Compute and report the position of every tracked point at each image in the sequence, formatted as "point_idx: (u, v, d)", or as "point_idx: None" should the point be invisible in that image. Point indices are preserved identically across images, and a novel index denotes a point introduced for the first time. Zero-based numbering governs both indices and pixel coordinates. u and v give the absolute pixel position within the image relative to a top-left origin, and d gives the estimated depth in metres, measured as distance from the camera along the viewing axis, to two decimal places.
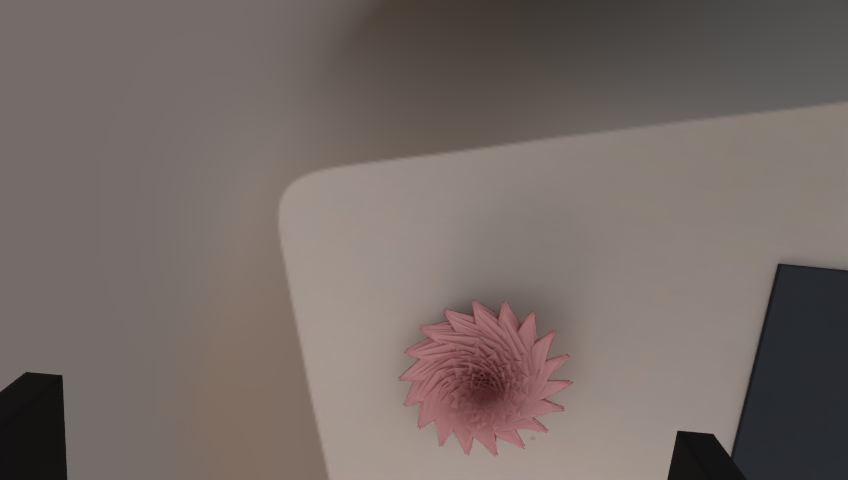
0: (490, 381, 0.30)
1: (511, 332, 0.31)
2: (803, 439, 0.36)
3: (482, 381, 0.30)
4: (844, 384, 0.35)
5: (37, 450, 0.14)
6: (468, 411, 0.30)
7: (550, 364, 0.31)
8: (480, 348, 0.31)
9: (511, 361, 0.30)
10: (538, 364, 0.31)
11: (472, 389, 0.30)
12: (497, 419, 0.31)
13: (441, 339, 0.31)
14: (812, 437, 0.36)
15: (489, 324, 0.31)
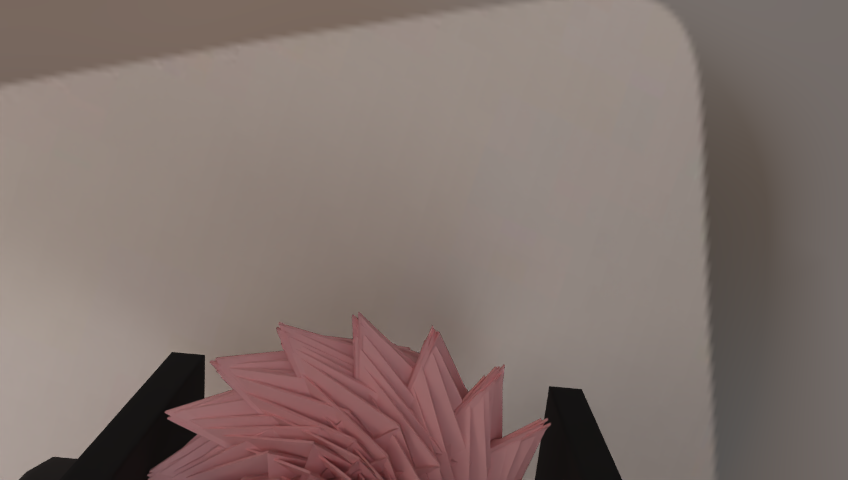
0: None
1: None
2: None
3: None
4: None
5: None
6: None
7: None
8: None
9: None
10: None
11: None
12: None
13: (470, 418, 0.12)
14: None
15: None
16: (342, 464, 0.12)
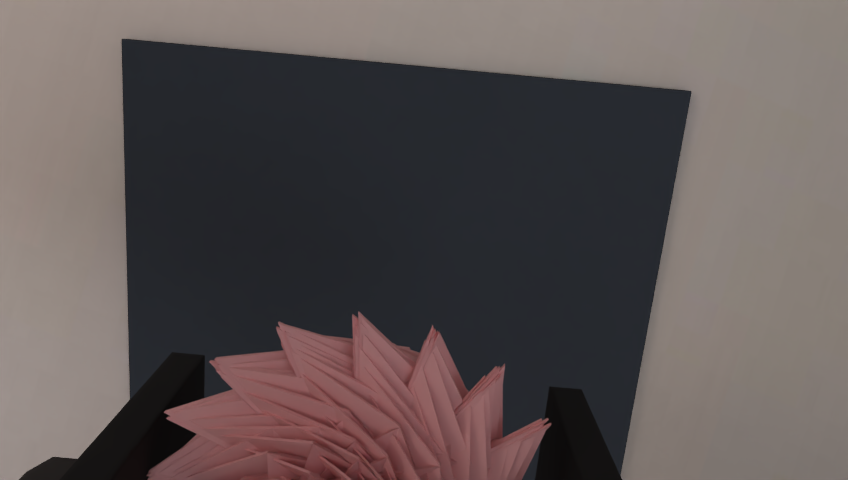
0: None
1: None
2: (422, 162, 0.25)
3: None
4: (507, 205, 0.25)
5: None
6: None
7: None
8: None
9: None
10: None
11: None
12: None
13: (471, 418, 0.12)
14: (424, 175, 0.25)
15: None
16: (342, 464, 0.12)
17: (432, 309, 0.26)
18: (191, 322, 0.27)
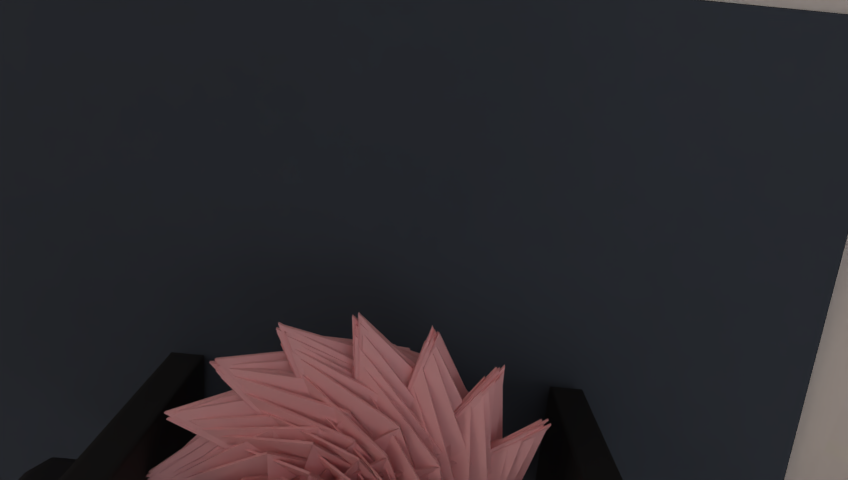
0: None
1: None
2: (435, 141, 0.15)
3: None
4: (578, 215, 0.15)
5: None
6: None
7: None
8: None
9: None
10: None
11: None
12: None
13: (471, 419, 0.12)
14: (439, 163, 0.15)
15: None
16: (342, 465, 0.12)
17: None
18: (58, 402, 0.16)
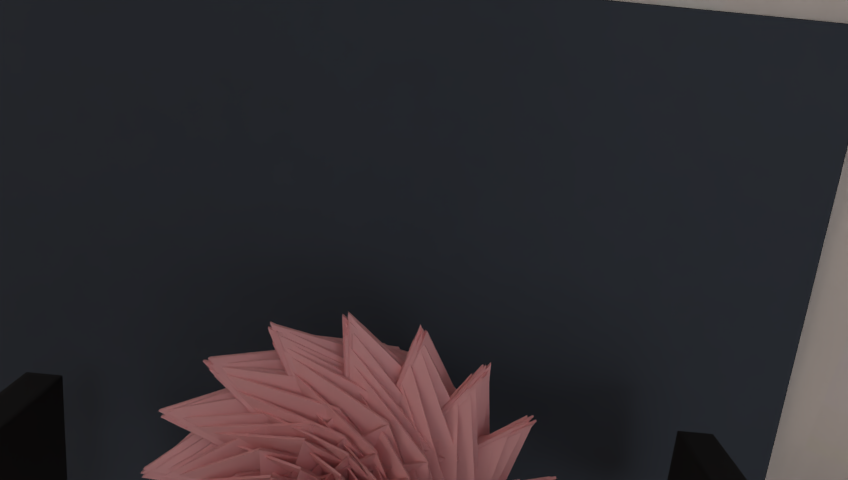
0: None
1: None
2: (424, 145, 0.15)
3: None
4: (564, 217, 0.15)
5: (37, 450, 0.14)
6: None
7: None
8: None
9: None
10: None
11: None
12: None
13: (458, 415, 0.13)
14: (428, 166, 0.15)
15: None
16: (332, 460, 0.12)
17: None
18: None
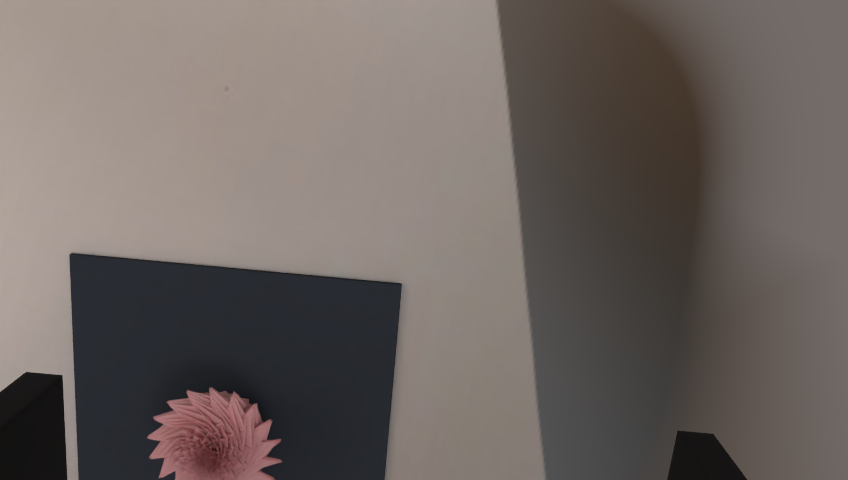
0: (219, 465, 0.39)
1: (257, 467, 0.41)
2: (247, 322, 0.42)
3: (219, 461, 0.39)
4: (299, 347, 0.43)
5: (37, 450, 0.14)
6: (192, 450, 0.39)
7: None
8: None
9: (235, 475, 0.40)
10: None
11: (211, 454, 0.39)
12: (187, 470, 0.39)
13: (247, 419, 0.40)
14: (249, 330, 0.42)
15: (262, 452, 0.40)
16: (205, 432, 0.39)
17: (259, 406, 0.44)
18: (114, 413, 0.44)
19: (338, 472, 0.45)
